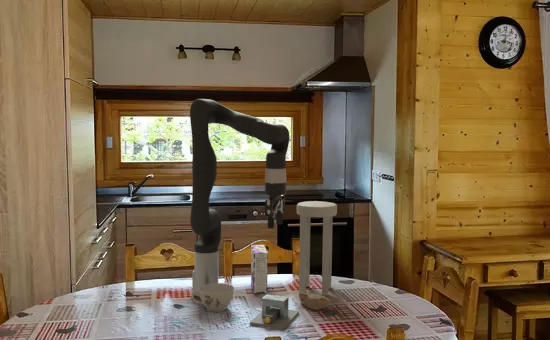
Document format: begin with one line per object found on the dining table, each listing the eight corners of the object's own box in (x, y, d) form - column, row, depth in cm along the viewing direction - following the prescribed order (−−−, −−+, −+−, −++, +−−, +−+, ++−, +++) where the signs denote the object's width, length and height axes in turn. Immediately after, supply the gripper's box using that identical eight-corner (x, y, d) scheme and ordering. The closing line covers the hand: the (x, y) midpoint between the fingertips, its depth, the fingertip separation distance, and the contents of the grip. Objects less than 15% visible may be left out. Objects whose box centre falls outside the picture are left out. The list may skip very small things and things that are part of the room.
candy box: (250, 283, 224) (250, 244, 223) (264, 282, 225) (265, 244, 223) (252, 293, 211) (253, 252, 209) (267, 293, 211) (268, 252, 210)
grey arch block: (261, 316, 183) (261, 298, 182) (266, 312, 187) (266, 294, 186) (283, 320, 180) (284, 301, 179) (288, 315, 184) (288, 297, 184)
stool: (292, 294, 210) (294, 205, 207) (299, 283, 225) (301, 200, 222) (332, 297, 207) (334, 207, 203) (336, 285, 222) (338, 201, 219)
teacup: (234, 303, 199) (234, 282, 199) (234, 315, 187) (234, 292, 186) (193, 303, 198) (193, 282, 198) (190, 315, 186) (190, 293, 185)
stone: (311, 312, 191) (311, 298, 191) (296, 302, 201) (296, 289, 201) (332, 309, 195) (333, 295, 194) (317, 299, 205) (317, 287, 205)
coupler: (249, 324, 178) (249, 314, 178) (267, 309, 193) (267, 299, 193) (283, 330, 174) (284, 319, 174) (298, 313, 189) (299, 304, 189)
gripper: (272, 178, 198) (272, 222, 199) (258, 182, 185) (257, 229, 186) (292, 179, 195) (291, 223, 197) (278, 183, 182) (278, 230, 184)
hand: (275, 226), depth 192 cm, fingers open, 8 cm apart
